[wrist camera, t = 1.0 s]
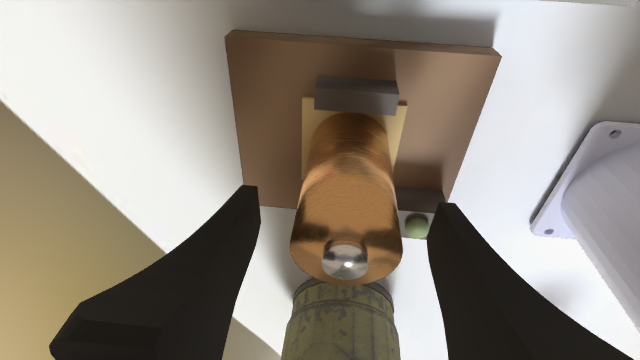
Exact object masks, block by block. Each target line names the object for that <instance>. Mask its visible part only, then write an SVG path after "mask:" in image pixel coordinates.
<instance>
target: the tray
mask: <svg viewBox="0 0 640 360" xmlns="http://www.w3.org/2000/svg"><path fill="white" fill-rule="evenodd" d="M542 1H558V2H574V3H590V4H606V5H623V6H636V4H637V2H638V1H639V0H542Z"/></svg>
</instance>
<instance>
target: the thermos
mask: <svg viewBox="0 0 640 360" xmlns="http://www.w3.org/2000/svg"><path fill="white" fill-rule="evenodd" d="M393 313H394V306H393V302H392V299H391V296H390V295H389V293H388V292H387V291H386V290H385V289H384V288H383V287H381V286H380V285H378V284H376V283H374V282H371V283H367V284H362V285H338V284H332V283H328V282H324V281H321V280H319V279H316V278H314V279H311V280H308V281H307V282H305V283H304V284H303V285H301V286H300V287H299V288H298V289H297V291H296V293H295V295H294V299H293V310H292V316H291V318H290V320H289V322H288V324H287V328H286V333H285V339H284V345H283V350H282V356H281V360H401V359H400V348H399V338H398V333H397V330H396V327H395V325H394V316H393Z"/></svg>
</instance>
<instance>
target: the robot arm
mask: <svg viewBox="0 0 640 360" xmlns="http://www.w3.org/2000/svg"><path fill="white" fill-rule="evenodd" d="M614 130H616V131H615V132H614V133H613V134H611V135H609V134H610V133H611V132H612V131H614ZM260 225H261V217H260V207H259V197H258V187H257V186H250V185H242V186H240V187H239V189H238V190H237V191H236V192H235V193H234V194H233V195H232V196H231V197H230V198H229V199H228V201H227V202H226V203H225V204H224V205H223V206H222V207H221V208H220V209H219V210H218V211H217V212H216V213H215V214H214V215H213V216H212V217H211V218H210V219H209V220H208V221H207V222H206V223H204V224H203V225H202V226H201V227H200V228H199V229H198V230H197V231H196V232H194V233H193V234H192V235H191V236H190V237H189V238H187V239H186V240H185V241H184V242H182V243H181V244H180V245H179V246H177V247H176V248H175V249H173V250H172V251H171V252H169V253H168V254H166V255H165V256H164V257H162V258H161V259H159V260H158V261H156V262H155V263H153V264H152V265H150V266H149V267H147V268H145V269H144V270H142V271H140V272H139V273H137V274H135V275H134V276H132V277H130V278H128V279H126V280H125V281H123V282H121V283H119V284H117V285H115V286H114V287H112V288H110V289H108V290H105V291H103V292H101V293H99V294H97V295H96V296H93V297H91V298H89V299H87V300H85V301H83V302H81V303H80V304H79V305H78V306H77V307H76V309H75V310H74V311H73V312H72V314H71V315H70V316H69V318H68V319H67V321H66V322H65V323H64V325H63V326H62V328H61V329H60V331H59V332H58V333H57V335H56V336H55V338H54V339H53V341H52V342H51V343H50V345H49V348H50V352H51V355H52V356H53V357H54V358H55V360H222V356H223V351H224V347H225V342H226V338H227V334H228V330H229V325H230V322H231V318H232V314H233V310H234V306H235V302H236V299H237V296H238V293H239V290H240V287H241V285H242V282H243V279H244V276H245V274H246V271H247V268H248V265H249V263H250V260H251V257H252V254H253V252H254V249H255V246H256V242H257V238H258V234H259V229H260ZM530 230H531V232H532V234H533V235H536V236H545V237H556V238H566V239H576V240H577V241H578V243H579V244H580V246H581V247H582V249H583V250H584V252H585V253H586V254H587V256H588V257H589V259H590V260H591V262H592V263H593V265H594V266H595V268H596V269H597V271H598V272H599V274H600V275H601V277H602V278H603V279H604V281H605V282H606V284H607V285H608V287H609V288H610V290H611V291H612V293H613V294H614V296H615V297H616V299H617V300H618V302H619V303H620V304H621V306H622V307H623V309H624V310H625V312H626V313H627V315H628V316H629V318H630V319H631V321H632V322H633V324H634V325H635V327H636V328H637V329H638V331H639V332H640V124H636V123H624V122H611V121H603V122H599V123H597V124H596V125H594V126H593V127H592V128H591V129H590V131H589V133H588V134H587V136H586V137H585V139H584V141H583V142H582V144H581V145H580V147H579V149H578V150H577V152H576V153H575V155H574V157H573V158H572V160H571V162H570V163H569V165H568V166H567V168H566V170H565V171H564V173H563V174H562V176H561V178H560V179H559V181H558V182H557V184H556V186H555V187H554V189H553V191H552V192H551V194H550V195H549V197H548V199H547V200H546V202H545V203H544V205H543V207H542V208H541V210H540V211H539V213H538V215H537V216H536V218H535V220H534V221H533V223H532V224H531V226H530ZM426 238H427V249H428V257H429V263H430V268H431V272H432V276H433V280H434V284H435V288H436V292H437V296H438V300H439V304H440V308H441V312H442V317H443V322H444V328H445V335H446V342H447V349H448V358H449V360H634V359H632V358H631V357H629V356H627V355H626V354H624V353H623V352H621V351H620V350H618V349H616V348H615V347H613V346H612V345H610V344H608V343H607V342H605V341H604V340H602V339H601V338H599V337H597V336H596V335H594V334H593V333H591V332H590V331H589V330H587V329H586V328H584V327H583V326H581V325H580V324H579V323H577V322H576V321H574V320H573V319H572V318H570V317H569V316H567V315H566V314H565V313H563V312H562V311H561V310H559V309H558V308H557V307H556V306H554V305H553V304H552V303H551V302H549V301H548V300H547V299H546V298H544V297H543V296H542V295H541V294H539V293H538V292H537V291H536V290H535V289H534V288H532V287H531V286H530V285H529V284H528V283H527V282H526V281H525V280H524V279H522V278H521V277H520V276H519V275H518V274H517V273H516V272H515V271H514V270H513V269H512V268H511V267H510V266H509V265H508V264H507V263H506V262H505V261H504V260H503V259H502V258H501V257H500V256H499V255H498V254H497V253H496V252H495V251H494V249H493V248H492V247H491V246H490V245H489V244H488V243H487V242H486V241H485V239H484V238H483V237H482V236H481V235H480V234H479V232H478V231H477V230H476V229H475V228H474V226H473V225H472V224H471V223H470V221H469V220H468V219H467V218H466V216H465V215H464V214H463V213H462V211H461V210H460V209H459V208H458V207H457V205H456V204H455V203H446V202H439V203H438V206H437V209H436V212H435V215H434V217H433V220H432V223H431V226H430V229H429V231H428V234H427V237H426Z"/></svg>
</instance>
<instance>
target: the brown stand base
mask: <svg viewBox="0 0 640 360" xmlns="http://www.w3.org/2000/svg"><path fill="white" fill-rule="evenodd" d="M225 44H226V52H227V60H228V67H229V75H230V83H231V90H232V98H233V106H234V113H235V121H236V129H237V136H238V144H239V152H240V160H241V167H242V175H243V183H244V185H250V186H257V187H258V197H259V206H269V207H280V208H290V209H297V207H298V202H299V197H300V193H301V188H302V183H303V178H304V174H305V169H306V164H307V160H308V155H309V150H310V145H311V141H312V137H313V134H314V131H315V130H316V128H317V127H318V125H319V124H320V123H321V122H322V121H324V120H325V119H326V118H328V117H330V116H332V115H334V114H337V113H341V112H351V113H362V114H365V115H368V116H370V117H372V118H373V119H375V120H376V121H377V122H378V123H379V124H380V125H381V126H382V127H383V128H384V130H385V132H386V134H387V137H388V143H389V150H390V157H391V165H392V172H393V180H394V187H395V195H396V202H397V210H398V217H399V224H400V232H401V237H404V238H413V239H425V240H427V238H426V237H427V234H428V231H429V229H430V226H431V223H432V220H433V217H434V215H435V212H436V209H437V206H438V203H439V202H446V203H447V202H448V199H449V196H450V194H451V191H452V188H453V186H454V183H455V180H456V178H457V175H458V172H459V170H460V167H461V164H462V162H463V159H464V156H465V154H466V151H467V148H468V146H469V143H470V140H471V138H472V135H473V132H474V130H475V127H476V124H477V122H478V119H479V116H480V114H481V111H482V108H483V106H484V103H485V100H486V98H487V95H488V92H489V90H490V87H491V84H492V82H493V79H494V76H495V74H496V71H497V68H498V66H499V63H500V60H501V58H502V56H501V55H500V54H499V53H498V52H497V51H496V50H495V49H494V48H487V47H472V46H458V45H443V44H429V43H414V42H400V41H385V40H371V39H356V38H342V37H327V36H313V35H298V34H284V33H269V32H254V31H240V30H232V31H231V32H230V33H229V34H228V35H226V36H225Z"/></svg>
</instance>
